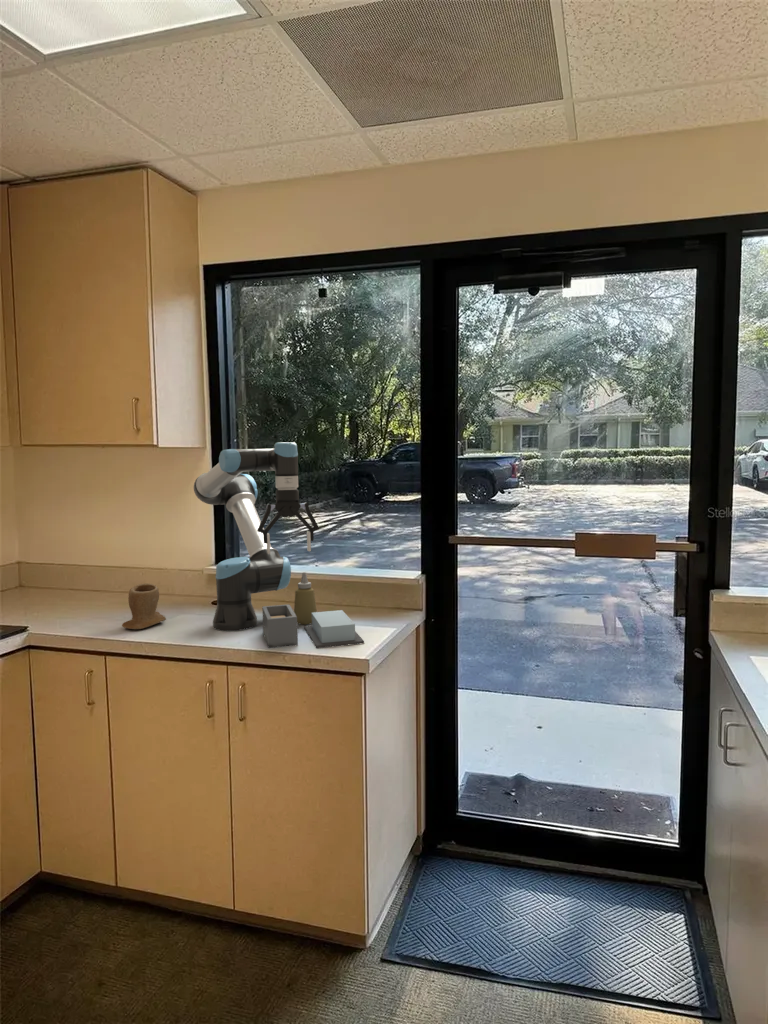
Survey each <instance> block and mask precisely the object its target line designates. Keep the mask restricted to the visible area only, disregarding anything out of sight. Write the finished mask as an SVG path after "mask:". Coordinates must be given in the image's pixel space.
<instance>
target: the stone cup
mask: <svg viewBox="0 0 768 1024" xmlns="http://www.w3.org/2000/svg"><path fill="white" fill-rule="evenodd" d="M159 590H160V589H159V587H158V586H157V585H156V584H153V583H140V584H139V583H138V584H136V585H134V586H133V587H131V588H130V589H129V592H128V606H129V610H130V612H131V619H129V620H127V621H124V622H122V624H121V626H122V627H123V628H124V629H129V630H141V629H142V630H143V629H146V628H148V627H151V626H153V625H156V624H159V623H162V622H164V621H165V620H166V617H165V615H163V614H161V613H160V612H159V611H157V607H158V603H159V600H160V591H159Z"/></svg>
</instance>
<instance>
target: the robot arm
mask: <svg viewBox="0 0 768 1024" xmlns="http://www.w3.org/2000/svg"><path fill="white" fill-rule="evenodd" d="M298 460H299V453H298V445H297V443H296V442H289V441H287V442H283V441H282V442H275V443H274V448H229V449H223V450H221V451H220V453H219V457H218V463H217V464H216V465H214V466H213V467H212V468H211V469H209V470H208V472H204V473H202V474H199V476H198V477H197V478H196V479H195V480H194V483H193V492H194V494H195V496H196V497H197V499H199V501H201V502H202V503H204V504H207V505H211V506H218V505H220V506H221V505H225V507H226V510H227V511H228V512H230V513H232V515H233V517H234V519H235V522H236V525H237V527H238V529H239V532H240V535H241V537H242V540H243V543H244V545H245V548H246V550H247V553H248V555H249V557H248V556H239V557H231V558H228V559H224V560H222V561H220V562H218V564H217V565H216V566H215V580H216V581H215V582H216V583H215V585H216V586H215V587H216V608H215V612H214V615H213V620H212V628H213V629H215V630H217V631H223V632H225V631H226V632H235V631H243V630H248V629H251V628H254V627H256V626H257V625H258V616H257V614H256V611H255V609H254V606H253V603H252V594H259V593H265V592H271V591H279V590H283V589H285V588H287V587H288V586H289V584H290V582H291V576H292V567H291V563H290V560H289V557H287V556H280V553H279V550H277V549H276V548H273V547H272V545H271V541H270V540H271V537H270V535H271V534H270V531H271V529H272V528H273V527H274V525H275V524H276V523H277V522H278V520H279V519H280V518H281V517H282V518H287V517H291V518H292V517H296V518H298V520H299V521H300V522H301V523H302V525H304V526H305V527H306V528H307V530H308V531H306V548H307V549H306V550H307V551H308V552H311V550H312V542H314V540H315V539H314V536H315V535H314V534H315V533H314V532H315V531H317V530H319V528H320V527H319V525H318V523H317V521H316V519H315V517H314V516H313V514H312V512H311V510H310V506H309V505H310V504H309V503H308V502H302V503H301V502H300V497H299V496H300V495H299V492H300V491H299V489H298V488H299V461H298ZM267 471H268V472H273V471H274V472H275V488H276V490H275V503H274V504H270V503H267V504H266V507H265V508H266V509H265V512H264V514H263V517H262V519H260V516H259V514H258V511H257V509H256V506H255V504H256V500H257V498H258V493H259V492H258V489H257V487H258V486H257V483H256V481H255V479H254V478H253V476H252V475H250V474H247V473H246V472H267ZM243 472H245V473H243ZM301 508H302V509H303V510H304V511H305V513H306V516H307V517H308V519H309V521H310V523H311V524H312V526H311V524H310V523H308V521H307V520H306V519H305V518H304V517H303V516H302V515H301V513H299V510H300V509H301ZM274 509H275V510H276V511H277V512H276V513H275V515H274V516H273V518H272V519H271V520H269V521H270V522H269V523H268V524H267V525H266V523H267V520H268V518H269V517H270V514H271V512H272V511H274ZM265 525H266V526H265ZM264 527H265V528H264Z"/></svg>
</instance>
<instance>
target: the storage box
mask: <svg viewBox="0 0 768 1024" xmlns="http://www.w3.org/2000/svg"><path fill="white" fill-rule="evenodd" d="M261 608H262V632H263V637H264V639H265V642H266V644H267V647H268V649H275V648H283V647H292V646H295V645H296V646H298V645H299V640H298V639H299V637H298V635H299V634H298V623H297V616H296V614H295V613H294V608H292V606H291V605H290V604H278V605H277V604H276V605H265V606H262V607H261Z"/></svg>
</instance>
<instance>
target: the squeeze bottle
mask: <svg viewBox="0 0 768 1024" xmlns="http://www.w3.org/2000/svg"><path fill="white" fill-rule="evenodd" d="M301 574H302V575H301V579H300V582H297V589H296V590H295V591H294V607H293V611H294V613H295V614H296V616H297V625H302V626H304V625H305V626H308V625H312V613H313V612H318V611H317V605H316V596H315V595H316V594H315V589H314V588H312V582H310V581H309V580H308V576H307V572H306V571H305V572H302V573H301ZM307 624H308V625H307Z"/></svg>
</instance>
